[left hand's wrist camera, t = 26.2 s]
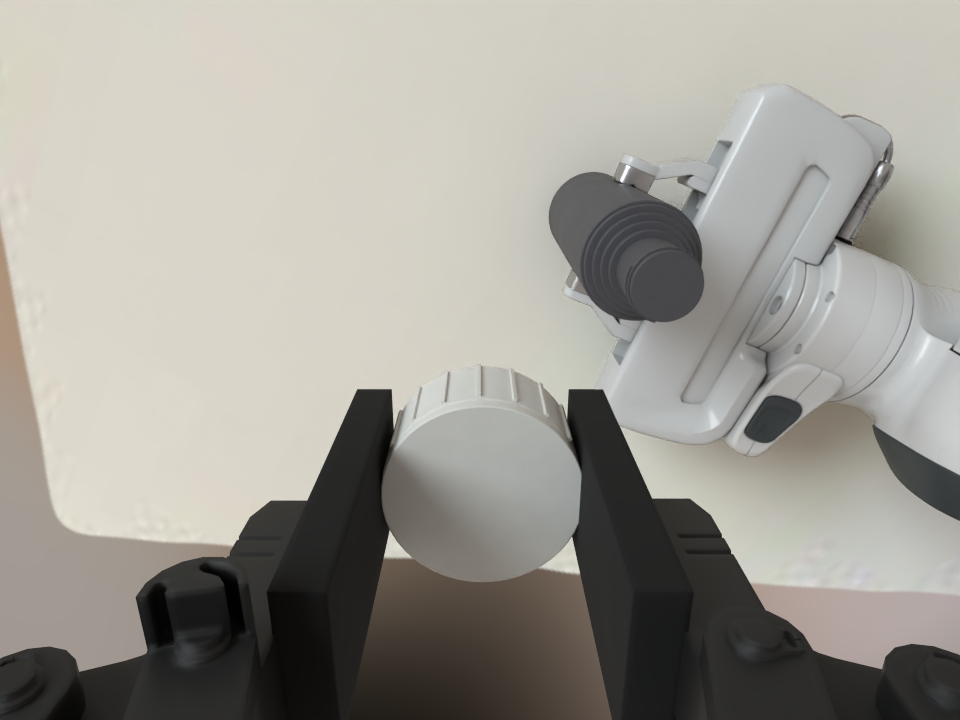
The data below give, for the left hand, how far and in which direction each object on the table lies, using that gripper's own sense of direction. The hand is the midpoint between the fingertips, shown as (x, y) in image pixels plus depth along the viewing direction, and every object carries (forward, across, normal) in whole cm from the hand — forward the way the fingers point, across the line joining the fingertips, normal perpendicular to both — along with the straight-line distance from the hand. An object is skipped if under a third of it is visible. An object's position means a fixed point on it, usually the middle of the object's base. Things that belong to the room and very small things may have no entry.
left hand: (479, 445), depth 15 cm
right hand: (+24, +6, +1) cm, 24 cm away
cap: (-2, 0, 0) cm, 2 cm away
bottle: (+30, +7, +1) cm, 30 cm away
